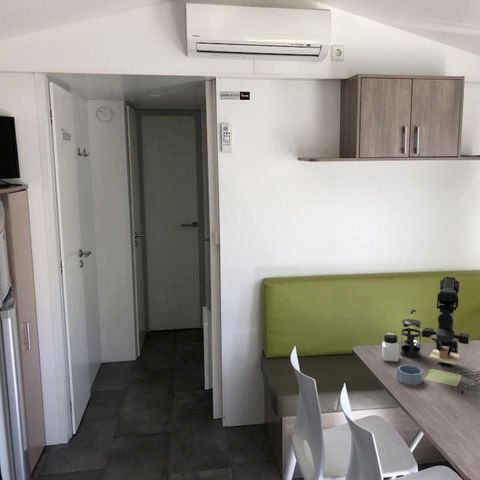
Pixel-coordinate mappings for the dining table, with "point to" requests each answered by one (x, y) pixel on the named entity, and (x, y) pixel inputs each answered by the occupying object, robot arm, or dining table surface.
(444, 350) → the lid
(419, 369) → the bowl
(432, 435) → the dining table surface
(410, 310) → the french press
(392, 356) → the medicine bottle
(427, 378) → the mat
